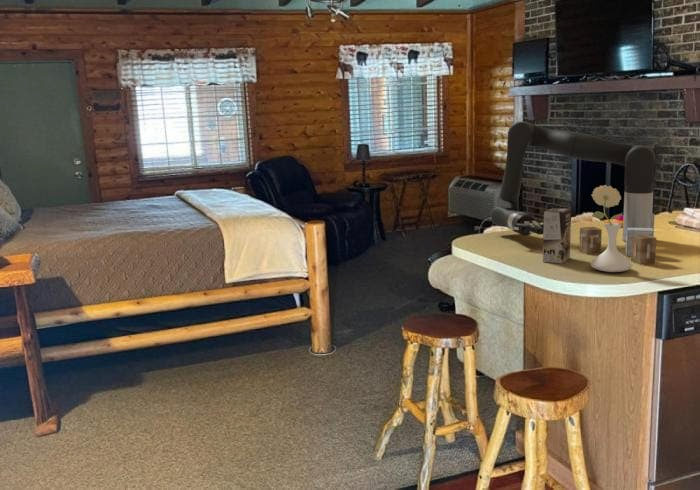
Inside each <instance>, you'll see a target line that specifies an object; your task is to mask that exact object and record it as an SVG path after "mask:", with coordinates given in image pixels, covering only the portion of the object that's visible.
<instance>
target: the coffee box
mask: <svg viewBox="0 0 700 490" xmlns="http://www.w3.org/2000/svg"><path fill="white" fill-rule="evenodd" d="M543 223H544V230H543V234H542V235H543V237H542V239H543V240H542V241H543V243H542V262H544V263H551V264H552V263H553V264H563V263H565V262H566V261H568V260H569V259H571V237H572V236H571V231H572V229H571V227H572V208H567V207H566V208H564V207H563V208H561V207H560V208H556V207H555V208H554V207H552V208H549V209H547V210H544V211H543Z"/></svg>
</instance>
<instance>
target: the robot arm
mask: <svg viewBox="0 0 700 490" xmlns="http://www.w3.org/2000/svg"><path fill="white" fill-rule="evenodd" d="M506 146H507V148H506V149H507V150H506V161H505V167H504V172H503V177H502V182H501V186H500V193H499V199H500V200H501V201H504V202H506V203H508V204H509V207H508V206H495V207H493V208H492V210H491V212H490V220H491V222H492V223H493V224H494V225H497V226H500V227H504V228H508V229H510V230H511V231H513V232H514V233H517V234H519V235H521V236H530V235H531V234H536V235H543V230H544V222H543V223H541V222H539V221H537V220H536V219H535V217H534V216H532V215H531V214H528V213H526V212H523V211H520V209H519V208H520V207H519V199H520V198H519V197H520V191H521V188H522V180H523V164H524V157H525V155H526V152H527V151H526V150H527V148H528V147H529V148H530V147H533V148H539V149H545V150H548V151H551V152H553V153H556V154H559V155H561V156H564V157H567V158H572V159H575V160H581V161H589V162H595V163H596V162H599V163H611V164H615V165H620V166H623V167H624V196H623V198H624V199H623V215H624V218H623V227H622V241H624V242H626V230H627V228H652V229H653V230H654V231H655V216H656V215H655V213H653V204H654V201H653V200H654V182H655V181H654V178H655V163H656V153H655V151H654V150H653V149H652V148H651V147H649V146H647V145H643V144H642V145H641V144H628V143H623V142H622V143H621V142H616V141H613V140H609V139H605V138H603V137H600V136H595V135H591V134H587V133H583V132H577V131H570V130H560V129H550V128H547V127H544V126H539V125H536V124H534V123H532V122H531V123H530V122H528V121H517V122H514V123H513V124H512V125H511V126H510V127H509V128H508V130H507V145H506Z"/></svg>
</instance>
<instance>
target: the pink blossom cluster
mask: <svg viewBox="0 0 700 490" xmlns="http://www.w3.org/2000/svg"><path fill="white" fill-rule="evenodd" d="M623 218H624V214H621V215H620V216H619V217H617V218H615V219H612V220H610V219H609V220H610V222H611V223H620V224H622V226H621V227H620V228H623ZM605 223H609V221H608V219H605V220H604V221H603V225H604V224H605Z"/></svg>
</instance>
